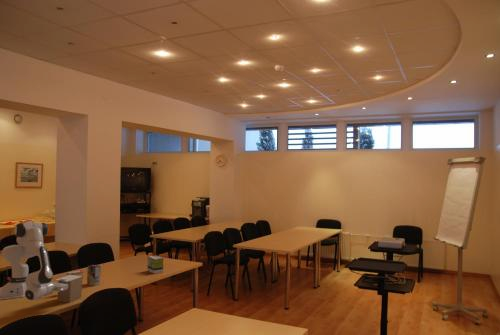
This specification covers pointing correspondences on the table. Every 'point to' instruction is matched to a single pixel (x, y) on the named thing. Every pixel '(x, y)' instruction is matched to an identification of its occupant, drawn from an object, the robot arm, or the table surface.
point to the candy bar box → (76, 274)
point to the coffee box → (93, 275)
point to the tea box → (155, 264)
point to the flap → (68, 278)
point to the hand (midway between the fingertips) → (62, 283)
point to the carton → (71, 291)
